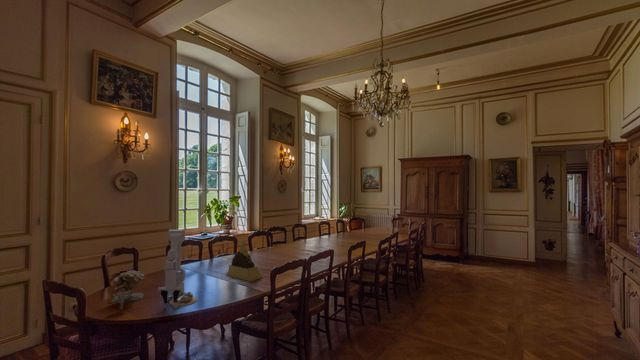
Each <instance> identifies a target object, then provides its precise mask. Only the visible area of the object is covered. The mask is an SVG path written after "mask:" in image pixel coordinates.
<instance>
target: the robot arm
mask: <svg viewBox="0 0 640 360" xmlns="http://www.w3.org/2000/svg"><path fill="white" fill-rule="evenodd" d="M167 233H168V234H167V237H168V240H169V242H170V249H169V250H168V251H167V256H166V260H165V262H164V265H163V266H164V267H163V268H164V275H165V277H164V278H165V285H164V286H161V287H157V292H160V295H161V298H162V299H163V303H164V304H167V303H168V298H174V301H175V300H176V299H177V297H178V295H179V294H180V292H183V294H185V293H186V291H185V282H184V281H185V279H186V270H185V268H183V267H182V266H181V261H182V243H183V242H185V240H186V230H185V228H182V229H168V231H167ZM169 292H170V295H169V296H168V293H169Z"/></svg>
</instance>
